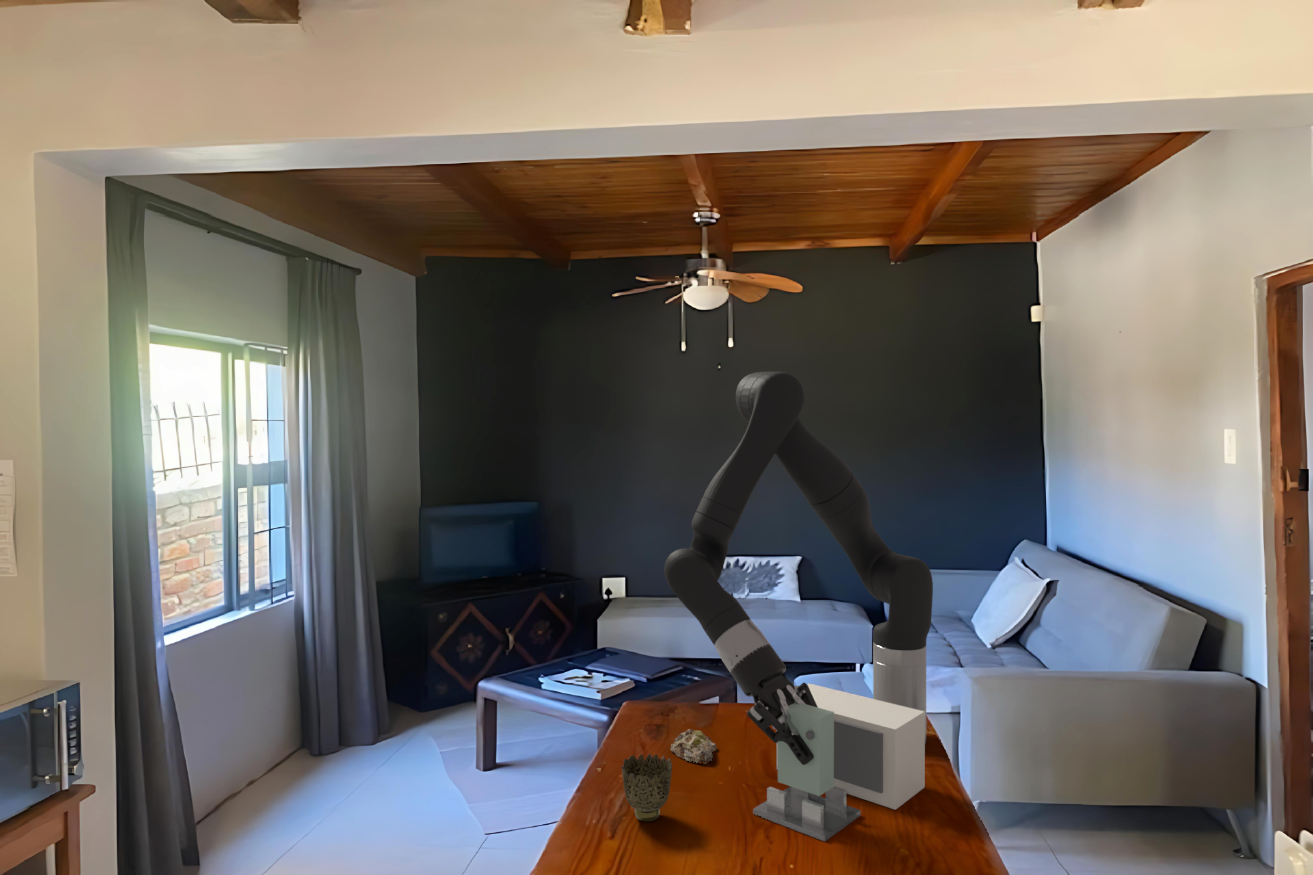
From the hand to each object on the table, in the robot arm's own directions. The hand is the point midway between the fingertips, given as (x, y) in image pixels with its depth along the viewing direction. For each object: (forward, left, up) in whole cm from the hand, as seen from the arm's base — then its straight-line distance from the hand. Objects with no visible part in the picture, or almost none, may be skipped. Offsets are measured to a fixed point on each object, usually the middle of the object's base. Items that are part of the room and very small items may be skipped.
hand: (817, 756), depth 121 cm
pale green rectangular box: (0, -2, -5) cm, 5 cm away
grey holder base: (0, -2, -9) cm, 9 cm away
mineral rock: (-7, -29, -10) cm, 31 cm away
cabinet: (-15, -3, -9) cm, 18 cm away
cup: (+16, -19, -9) cm, 26 cm away
